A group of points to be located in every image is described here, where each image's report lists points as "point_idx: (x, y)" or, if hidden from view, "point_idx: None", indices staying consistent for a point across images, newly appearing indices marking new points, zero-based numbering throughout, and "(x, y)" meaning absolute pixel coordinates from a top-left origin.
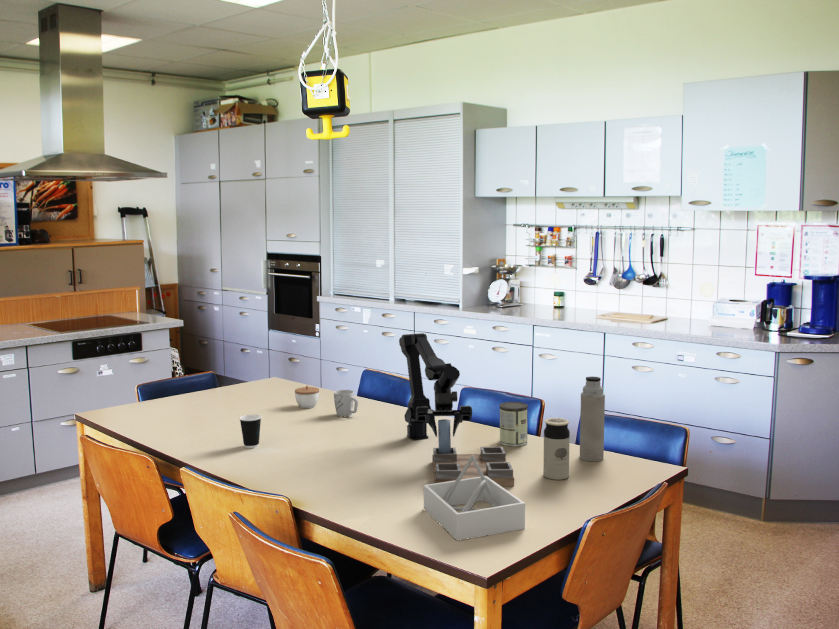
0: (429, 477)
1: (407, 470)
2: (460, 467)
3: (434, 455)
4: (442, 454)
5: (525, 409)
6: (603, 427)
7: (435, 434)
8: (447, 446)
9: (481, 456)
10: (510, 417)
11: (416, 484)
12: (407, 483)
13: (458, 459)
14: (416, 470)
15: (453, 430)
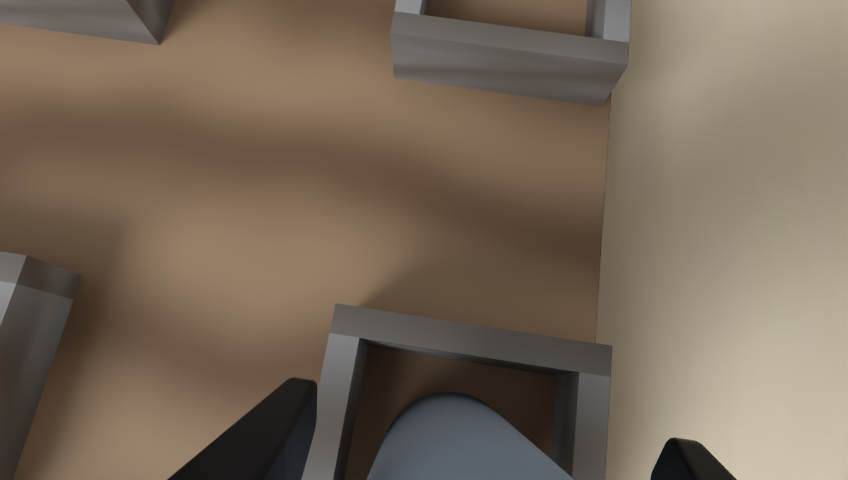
0: (627, 176)
1: (816, 388)
2: (358, 150)
3: (606, 345)
4: (509, 335)
5: None
6: None
7: (711, 468)
8: (432, 409)
9: (27, 428)
10: None
11: (736, 58)
12: (805, 89)
13: None
14: (731, 371)
15: (270, 443)
